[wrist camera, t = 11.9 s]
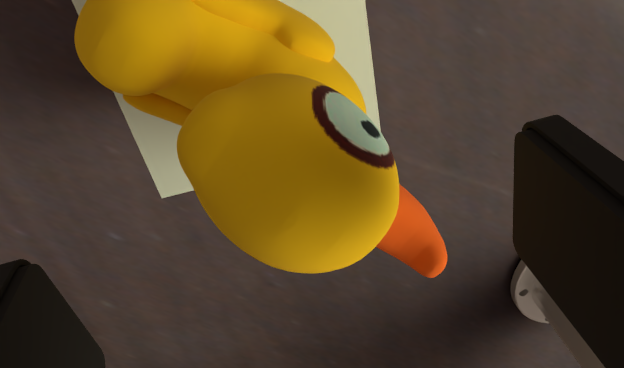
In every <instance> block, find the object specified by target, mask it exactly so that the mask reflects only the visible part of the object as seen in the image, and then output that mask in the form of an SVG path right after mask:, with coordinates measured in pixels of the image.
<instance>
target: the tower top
mask: <svg viewBox="0 0 624 368" xmlns="http://www.w3.org/2000/svg"><path fill="white" fill-rule="evenodd" d="M86 1H87V0H72V2H73V4H74V7H75V9H76V11H77V13H78V15H79V14H80V12H81V10H82V8H83V6H84V4H85V3H86ZM278 1H280V2H282V3H284V4H286V5H288V6H290V7H292V8H293V9H295V10H297V11H299V12H301V13H303V14H304V15H306V16H308V17H309V18H311V19H312V20H313V21H315V22H316V23H317V24H319V25H320V26H321V27H322V28H323V29H324V30H325V31H326V32H327V33H328V35H329V36H330V37H331V39H332V40H333V43H334V45H335V54H334V58H335V59H336V60H337V61H338V62H339V63H340V64H341V65H342V66H343V67H344V69H345V70H346V71H347V72H348V73H349V74H350V76H351V77H352V78H353V80H354V81H355V83H356V84H357V86H358V88H359V89H360V91H361V94H362V96H363V99H364V102H365V106H366V114H367V116H368V117H369V118H370V119H371V120H372V122H373V123H374V124H375V125H376V127H377V128H378V129H379V131H380V132H381V130H380V122H379V114H378V105H377V97H376V89H375V80H374V72H373V64H372V56H371V47H370V39H369V31H368V22H367V14H366V6H365V0H278ZM113 92H114V91H113ZM114 94H115V97H116V99H117V101H118V103H119V105H120V108H121V110H122V112H123V114H124V116H125V119H126V121H127V123H128V125H129V127H130V130H131V132H132V134H133V136H134V138H135V141H136V143H137V145H138V147H139V149H140V152H141V154H142V156H143V158H144V160H145V163H146V165H147V167H148V169H149V171H150V173H151V176H152V178H153V180H154V182H155V184H156V187H157V189H158V191H159V193H160V195H161V198H165V197H169V196H173V195H177V194H181V193H185V192H189V191H193V190H194V189H193V186H192V185H191V183H190V181H189V179H188V178H187V176H186V174H185V173H184V171H183V169H182V167H181V165H180V162H179V159H178V154H177V138H178V134H179V131H180V129H181V127H182V126H181V125H178V124H175V123H172V122H170V121H167V120H164V119H161V118H159V117H156V116H153V115H150V114H147V113H145V112H142V111H140V110H138V109H136V108H135V107H133V106H131V105H130V104H128V103H127V102H126V101H125V100H124V99H123V94H120V93H117V92H114Z"/></svg>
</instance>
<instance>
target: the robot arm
mask: <svg viewBox="0 0 624 368" xmlns="http://www.w3.org/2000/svg"><path fill="white" fill-rule="evenodd" d="M513 243H514V247H515V249H516V251H517V254H518V255H519V257H520V258H521V259H522V260H521V261H520V263H519V264H518V266H517V268H516V270H515V272H514V275H513V277H512V280H511V289H510V291H511V296H512V299H513V301H514V303H515V305H516V306H517V308H518V309H519V310H520V312H521V313H522V314H523V315H524V316H526V317H527V318H529V319H531V320H534V321H537V322H542V323H550V325H551V326H552V327H553V329H554V330H555V331H556V333H557V334H558V335H559V337H560V338H561V340H562V341H563V342H564V344H565V345H566V346H567V348H568V349H569V351H570V352H571V353H572V355H573V356H574V357H575V359H576V360H577V361H578V363H579V364H580V366H581V367H582V368H624V161H622V160H621V159H620V158H618V157H617V156H615V155H614V154H613V153H611V152H610V151H609V150H607V149H606V148H604V147H603V146H602V145H600V144H599V143H597V142H596V141H595V140H593V139H592V138H590V137H589V136H588V135H586V134H585V133H584V132H582V131H581V130H579V129H578V128H577V127H575V126H574V125H572V124H571V123H570V122H568V121H567V120H565V119H564V118H563V117H561V116H559V115H552V116H549V117H545V118H541V119H538V120H534V121H530V122H527V123H526V124H524V126H523V128H522V132H519V133H517V134H516V136H515V145H514V197H513ZM0 368H105V358H104V354H103V352H102V350H101V348H100V347H99V346H98V344H97V343H96V341H95V340H94V339H93V337H92V336H91V335H90V333H89V332H88V331H87V329H86V328H85V326H84V325H83V324H82V322H81V321H80V320H79V318H78V317H77V316H76V314H75V313H74V311H73V310H72V309H71V307H70V306H69V305H68V303H67V302H66V300H65V299H64V298H63V296H62V295H61V294H60V292H59V291H58V290H57V288H56V287H55V285H54V284H53V283H52V281H51V280H50V279H49V277H48V276H47V275H46V273H45V272H44V270H43V269H42V268H41V267H40V266H39V265H37V264H31V263H30V262H28V261H27V260H24V259H20V260H16V261H12V262H8V263H5V264H1V265H0Z"/></svg>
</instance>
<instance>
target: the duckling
mask: <svg viewBox="0 0 624 368" xmlns="http://www.w3.org/2000/svg"><path fill="white" fill-rule="evenodd" d="M74 40H75V47H76V51H77V54H78V57H79V59H80V61H81V62H82V64H83V65H84V67H85V68H86V69H87V71H88V72H89V73H90V74H91V75H92V76H93V77H94V78H95V79H96V80H97V81H98V82H100V83H101V84H102V85H104V86H105V87H107V88H108V89H110V90H112V91H114V92H117V93H120V94H123V99H124V100H125V101H126V102H127V103H128V104H130V105H131V106H133V107H135V108H136V109H138V110H140V111H142V112H145V113H147V114H150V115H153V116H156V117H159V118H161V119H164V120H167V121H170V122H172V123H175V124H178V125H181V126H182V127H181V129H180V131H179V134H178V138H177V154H178V159H179V162H180V165H181V167H182V169H183V171H184V173H185V174H186V176H187V178H188V179H189V181H190V183H191V185H192V186H193V189H194V191H195V193H196V195H197V197H198V199H199V201H200V203H201V204H202V206H203V208H204V209H205V211H206V213H207V214H208V215H209V217H210V218H211V220H212V221H213V222H214V224H215V225H216V226H217V227H218V228H219V230H220V231H221V232H222V233H223V234H224V235H225V236H226V237H227V238H228V239H229V240H230V241H232V242H233V243H234V244H235V245H236V246H238V247H239V248H240V249H241V250H243V251H244V252H245V253H247V254H248V255H250V256H252V257H253V258H255V259H257V260H259V261H261V262H263V263H265V264H267V265H269V266H272V267H275V268H278V269H281V270H285V271H290V272H297V273H323V272H329V271H333V270H337V269H341V268H344V267H347V266H349V265H351V264H353V263H355V262H357V261H359V260H361V259H362V258H363V257H364V256H366V255H367V254H368V253H369V252H370V251H372V250H373V249H374V248H375V247H377V248H379V249H381V250H383V251H384V252H386V253H388V254H390V255H392V256H394V257H395V258H397V259H399V260H401V261H402V262H404V263H405V264H407V265H408V266H410V267H411V268H413V269H414V270H416V271H417V272H418V273H420V274H421V275H423V276H425V277H429V278H433V277H436V276H437V275H439V274H440V273H441V272H442V271H443V270H444V268H445V266H446V263H447V252H446V248H445V244H444V241H443V239H442V237H441V236H440V234H439V232H438V230H437V228H436V226H435V224H434V223H433V221H432V219H431V218H430V216H429V215H428V213H427V211H426V210H425V209H424V207H423V206H422V205H421V204H420V203H419V201H418V200H417V199H416V198H414V197H413V196H412V195H411V194H410V193H409V192H408V191H407V190H406V189H405V188H404V187H402V186H401V185H400V184H399V179H398V173H397V168H396V164H395V161H394V158H393V155H392V152H391V150H390V148H389V146H388V144H387V142H386V140H385V138H384V137H383V135H382V134H381V132H380V131H379V129H378V128H377V127H376V125H375V124H374V123H373V122H372V120H371V119H370V118H369V117H368V116H367V114H366V106H365V102H364V99H363V96H362V94H361V91H360V89H359V88H358V86H357V84H356V83H355V81H354V80H353V78H352V77H351V76H350V74H349V73H348V72H347V71H346V70H345V69H344V67H343V66H342V65H341V64H340V63H339V62H338V61H337V60H336V59H335V58H334V54H335V45H334V43H333V40H332V39H331V37H330V36H329V35H328V33H327V32H326V31H325V30H324V29H323V28H322V27H321V26H320V25H319V24H317V23H316V22H315V21H313V20H312V19H311V18H309V17H308V16H306V15H304V14H303V13H301V12H299V11H297V10H295V9H293V8H292V7H290V6H288V5H286V4H284V3H282V2H280V1H278V0H87V1H86V3H85V4H84V6H83V8H82V10H81V12H80V14H79V17H78V20H77V24H76V28H75V35H74Z"/></svg>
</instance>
